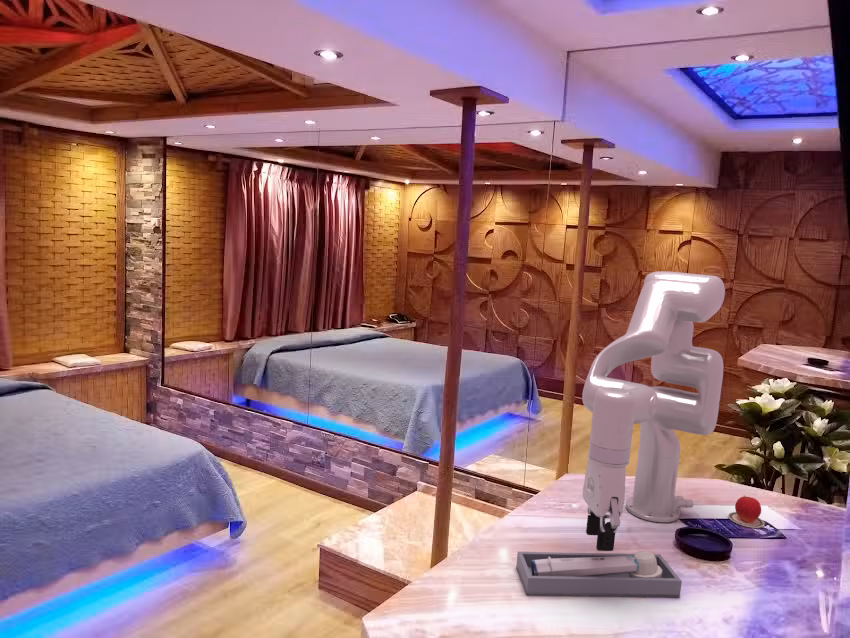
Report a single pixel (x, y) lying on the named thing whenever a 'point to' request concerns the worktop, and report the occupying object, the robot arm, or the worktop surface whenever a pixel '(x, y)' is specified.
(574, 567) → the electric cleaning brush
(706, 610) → the worktop surface
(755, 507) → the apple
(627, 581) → the tray
